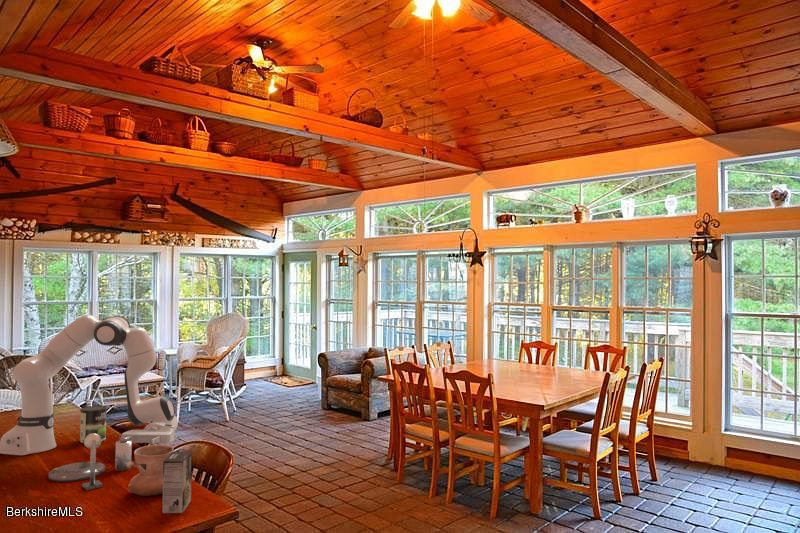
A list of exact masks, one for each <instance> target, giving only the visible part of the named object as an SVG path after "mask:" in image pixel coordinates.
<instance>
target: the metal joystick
mask: <svg viewBox="0 0 800 533" xmlns="http://www.w3.org/2000/svg"><path fill="white" fill-rule="evenodd" d="M83 444H84V447H86V448H87V449H89V450H90V452H89V454H90V457H89V462H90V478H89V481H87V482H83V483H82V484H81V487H82V488H83V489H85V491H91V490H95V489H99V488H103V483H102V482H101V481H100V480H99V479H98V480H97V479H96V476H95V465H96V462H97V460H96V458H97V457H96V456H97V454H96V453H97V449H98V448H99V447H100V446H101V444H102V439H101V437H100V436H99V435H98V434H96V433H92V434H89V435H88V436H87V437H86V438H85V440H84V443H83Z"/></svg>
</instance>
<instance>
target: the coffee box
mask: <svg viewBox="0 0 800 533" xmlns="http://www.w3.org/2000/svg"><path fill="white" fill-rule="evenodd" d="M190 502H192V451H189V452H187V451H173V452H172V453H171V454H170V455H169V456H168V457H167V458H166V459H165V460H164V461H163V493H162V510H161V511H162V514H182V513H184V512H185V510H186V509H187V507H188V505H190Z"/></svg>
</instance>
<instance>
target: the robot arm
mask: <svg viewBox="0 0 800 533" xmlns="http://www.w3.org/2000/svg"><path fill="white" fill-rule="evenodd" d="M93 340H95V341H96V342H97V344H100V345H102V346H107V347H108V346H109V347H111V346H114V347H115V346H118V347H119V346H123V348H124V351H125V353H126V356H127V367H126V368H125V370H124V373H123V374H124V375H123V376H124V388H125V394H126V402H127V419H128V421H129V422H130V423H131V424H133V425H134V426H137V427H138V426H142V425H144V424H147V423H148V424H147V425H146V426H145V427H144V428H143V429H131V430H127V431H125V432H123V433H121V437H128V440H132V444H135V443H136V444H143V443H144V444H146V443H147V444H149V445H158V444H169V443H172V442H174V441H175V438H176V430H177V428H178V426H179V421H178V417H177V416H176V415H175V413H176V412H175V411H176V410H175V405H174V402H173V401H172V400H171V398H169V397H168V396H165V395H161V396H157V397H156V396H155V397H153V398H150V399H146V400H141V398H140V391H139V380H140V378H141V377H142V376H143V375H145V374H146V373H148V372H150V370H152V368H154V366H155V365H156V363H157V353H156V350H155V349H156V348H155V347H154V344H153V341H152V339H151V337H150V335H149V332H147V330H146V329H145V328H144V327H140V326H136V327H131V324H130V322H129V320H128V319H127V318H125V317H123V316H121V315H120V316H119V315H116V316H115V315H114V316H110V317H107V318H103V319H101V320H99V319H98V318H97V317H96V316H94V315H92V314H83V315H80V316H79V317H78V318H76V319H74V320H73V321H71V323H69V324H68V325H67V326H65V327H64V328H63V329H61V331H59V332H58V333H57V334H56V335H55V336H54V337H52V338H51V339H50V340H49V342H48V344H47V345H46V346H45V347H44V348H43V349H42V350H41V351H40V352H39V353H38V354H36V355H33V356H29V357H27V358H24V359H22V360H21V361H20V362H18V363H17V364H16V365H15V367H14V368H13V371H12V372H13V373H12V375H13V379H14V381H15V382H17V383H18V387H19V390H20V394H21V395H20V396H21V416H18V417H16V418H15V419H14V422H17V423H16V425H14V427H12V428H11V429H9V430H8V431H7V432H6V433H4V434H3V435H2V436H1V438H0V454H3V455H11V456H13V455H14V456H26V455H29V454H37V453H42V452H46V451H49V450H52V449H54V448H56V447H57V443H56V439H55V434H54V424H55V423H54V422H55V413H54V411H53V410H54V408H53V407H54V394H53V393H52V391H51V389H50V386H49V379H52V378H53V377H55V376H56V375H57V374H58V373H59V372H60V371H61V370H62V369H63V368H64V366H66V365H67V363H68V362H69V361H70V360H71V359H72V358H73V357H74V356H76V355H77V353H79V352H80V351H81V350H82V349H83V348H85V347H86V346H87V345H88V344H89V343H90V342H91V341H93Z"/></svg>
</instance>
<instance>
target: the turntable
mask: <svg viewBox="0 0 800 533" xmlns="http://www.w3.org/2000/svg"><path fill="white" fill-rule="evenodd" d="M105 470H106V465H105V464H104V463H102V462H97V461H96V465H95V477H97V476H99V475H101V474H103V473H104V472H105ZM48 479H49V480H50V481H52V482H57V483H59V482H60V483H67V482H68V483H69V482H70V483H71V482H78V481H85V480H88V479H89V480H90V461H81V462H74V463H69V464H64V465H61V466H57V467H56V468H53V469H51V470H50V471H49V472H48Z"/></svg>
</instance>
